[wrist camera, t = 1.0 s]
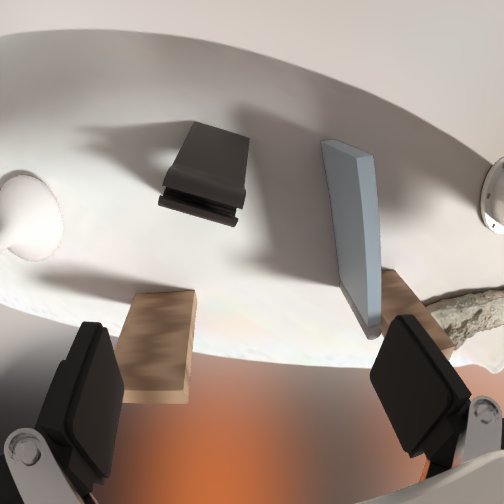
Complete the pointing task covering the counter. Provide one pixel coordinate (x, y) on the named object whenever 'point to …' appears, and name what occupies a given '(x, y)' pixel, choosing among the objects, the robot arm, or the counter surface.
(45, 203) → the flower in vase
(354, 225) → the blue rectangular panel
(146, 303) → the brown wooden blocks
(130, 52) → the counter surface
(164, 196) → the phone stand
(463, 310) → the long grey stone
